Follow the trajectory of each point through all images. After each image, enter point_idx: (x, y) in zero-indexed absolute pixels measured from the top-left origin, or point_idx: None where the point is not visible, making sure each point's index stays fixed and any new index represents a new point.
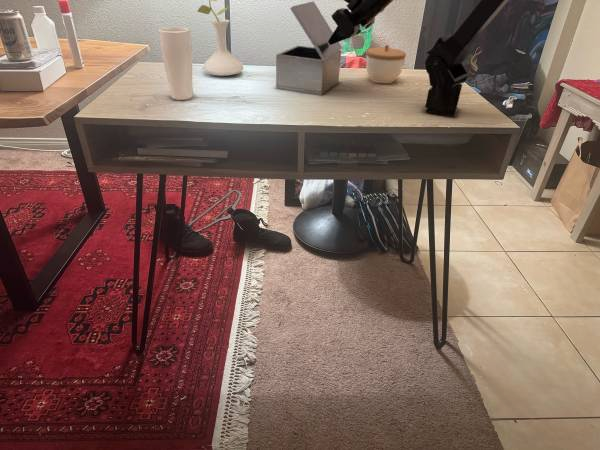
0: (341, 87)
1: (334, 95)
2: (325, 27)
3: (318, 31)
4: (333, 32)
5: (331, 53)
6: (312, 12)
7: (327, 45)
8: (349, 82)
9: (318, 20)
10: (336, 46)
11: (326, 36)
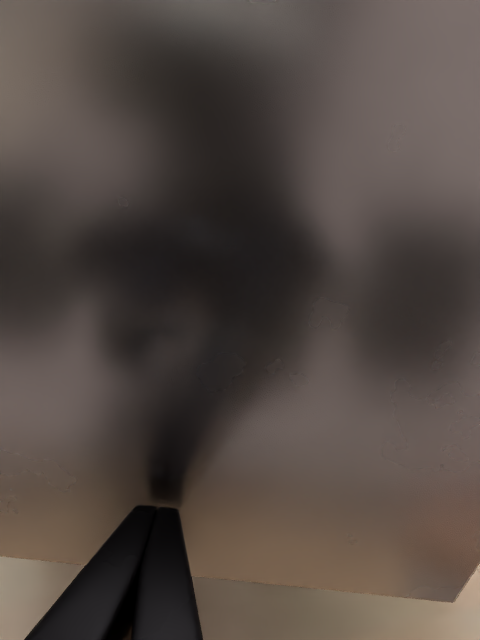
0: (248, 583)
1: (52, 583)
2: (422, 377)
3: (74, 355)
4: (26, 637)
5: (84, 564)
6: (341, 18)
7: (103, 508)
8: (392, 608)
9: (353, 233)
10: (326, 566)
11: (240, 452)
